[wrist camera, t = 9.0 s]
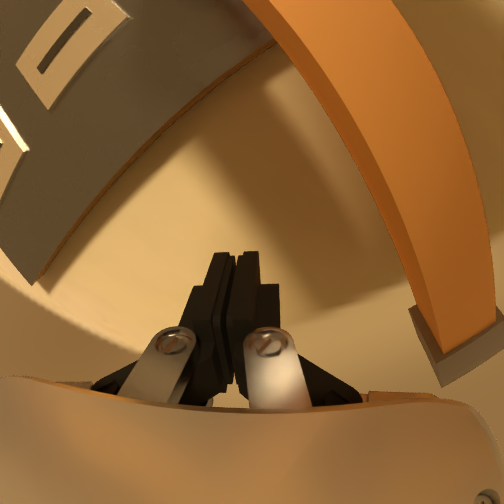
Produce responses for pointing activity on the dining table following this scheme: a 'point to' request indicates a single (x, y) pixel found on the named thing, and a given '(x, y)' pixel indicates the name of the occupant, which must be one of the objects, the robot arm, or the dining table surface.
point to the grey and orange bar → (403, 163)
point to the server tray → (98, 100)
